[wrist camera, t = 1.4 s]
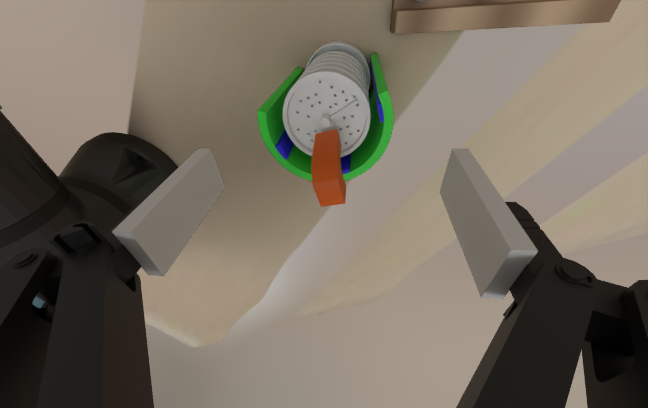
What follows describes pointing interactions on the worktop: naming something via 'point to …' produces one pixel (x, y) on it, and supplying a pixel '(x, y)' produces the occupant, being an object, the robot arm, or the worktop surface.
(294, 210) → the worktop surface
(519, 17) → the housing
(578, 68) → the worktop surface
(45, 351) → the robot arm
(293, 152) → the green-shelled ribbed roller
